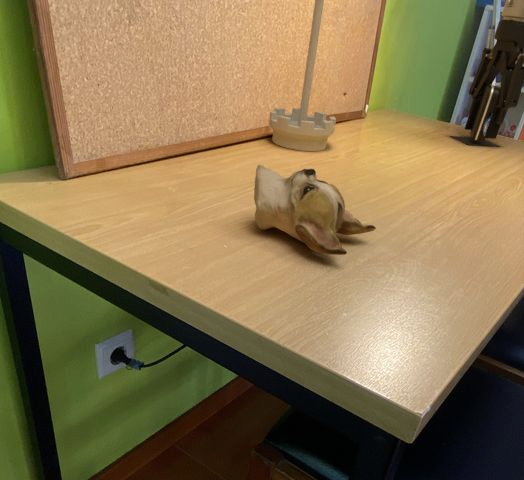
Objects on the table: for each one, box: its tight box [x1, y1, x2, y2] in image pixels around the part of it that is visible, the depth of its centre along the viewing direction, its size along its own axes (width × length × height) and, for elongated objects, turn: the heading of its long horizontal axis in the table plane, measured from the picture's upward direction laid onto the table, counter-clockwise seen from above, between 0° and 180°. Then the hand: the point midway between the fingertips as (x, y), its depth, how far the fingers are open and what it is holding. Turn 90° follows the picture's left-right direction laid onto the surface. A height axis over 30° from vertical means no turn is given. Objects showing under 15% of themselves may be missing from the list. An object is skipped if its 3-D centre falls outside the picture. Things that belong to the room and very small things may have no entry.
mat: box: [449, 135, 500, 148], centre depth 123 cm, size 8×9×1 cm
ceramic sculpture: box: [253, 164, 377, 256], centre depth 60 cm, size 11×9×15 cm
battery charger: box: [469, 84, 500, 141], centre depth 118 cm, size 7×4×11 cm, turn 166°
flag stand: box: [268, 0, 337, 152], centre depth 93 cm, size 13×13×30 cm
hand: (479, 133), depth 121 cm, fingers closed on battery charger, 7 cm apart
